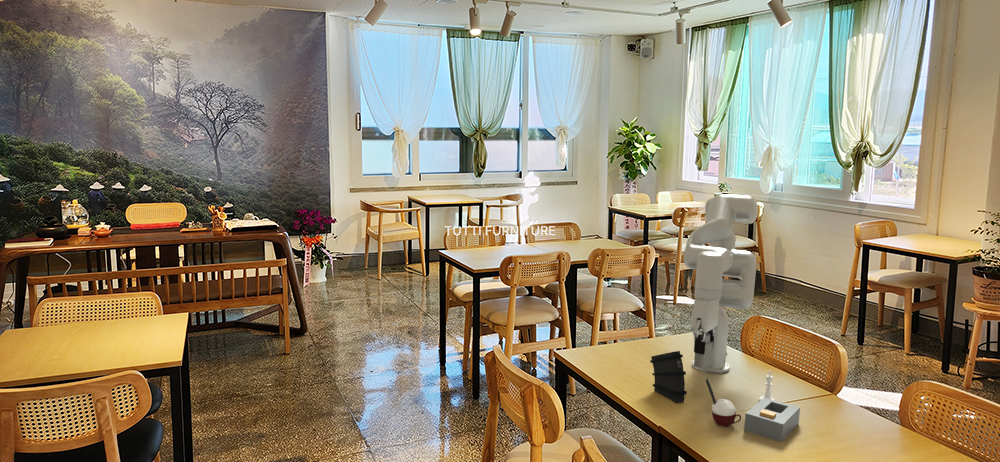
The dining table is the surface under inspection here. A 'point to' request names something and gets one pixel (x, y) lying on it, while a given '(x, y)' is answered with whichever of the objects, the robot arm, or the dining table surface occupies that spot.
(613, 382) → the dining table surface
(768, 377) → the chess piece
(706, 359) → the power adapter
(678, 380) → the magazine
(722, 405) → the cocoa
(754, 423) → the socket block
